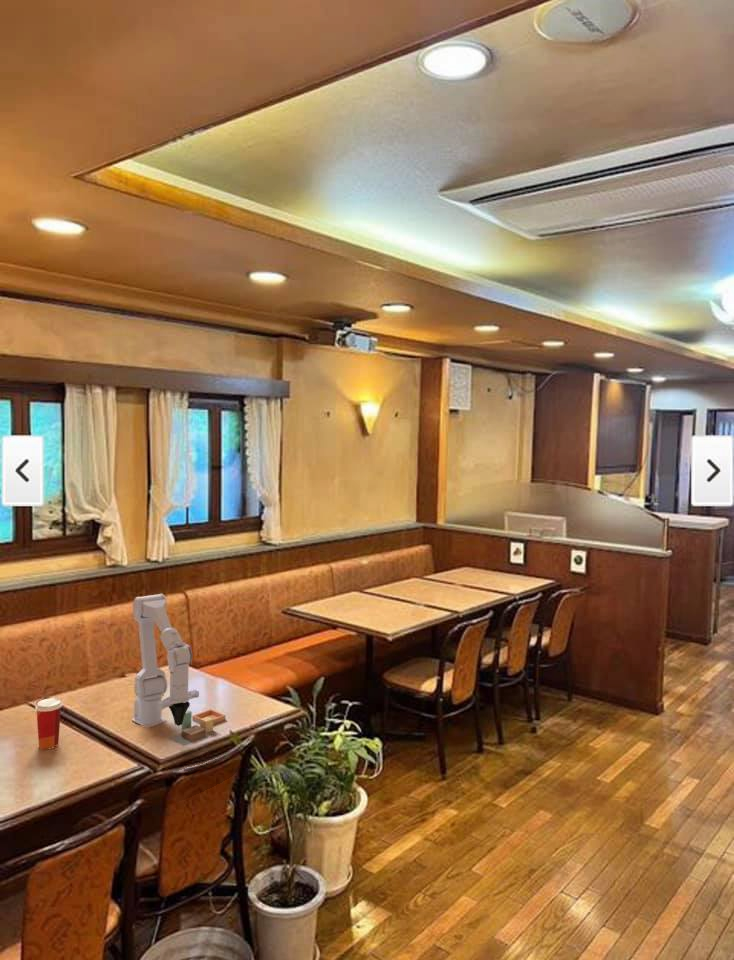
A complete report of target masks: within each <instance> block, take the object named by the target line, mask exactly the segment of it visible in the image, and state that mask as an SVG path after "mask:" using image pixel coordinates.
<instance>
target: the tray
mask: <svg viewBox="0 0 734 960" xmlns="http://www.w3.org/2000/svg"><path fill="white" fill-rule="evenodd" d="M205 717H210V718H212V719H213V725H215V724H218V723H221V722H223V721H225V720H226V714H223V713H222V712H219V711H217V710H215V709H212V708H210V709H207V710H204V711H202V712H199V713H195V714H192V719H191V721H192V722H195V723H197V724H199V725H200V719H202V718H205Z"/></svg>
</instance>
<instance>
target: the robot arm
mask: <svg viewBox="0 0 734 960" xmlns="http://www.w3.org/2000/svg"><path fill="white" fill-rule="evenodd" d="M167 602H168V601H167V598H166V596H165V595H164V594H163V593H159V594H158V593H157V594H153V595H152V594H151V595H145V596H137V597H135V598H134V600H133V602H132V612H133V613H132V614H133V618H134V621H135V622H137V623H138V633H139V644H140V645H139V646H140V655H141V656H140V657H141V666H142V669H141V670H140V671H139V672H138V673H137V674H136V675H135V676H134V686H133V687H134V694H135V695H136V697H135V699H134V701H133V716H134V717H133V718H132V719H131V721H132V722H133V723H136V724H138V725H140V726H143V727H144V728H147V729H148V728H151V727H153V726H157V725H159V724H162V723H164V722H167V721H168V720H167V719H166V718H164V717H162V711H163V710H165V709H166V708H169V710H170V712H171V715H172V718H173V721H174V725H175V726H178V727H180V726H182V723H183V719H184V716H185V713H186V711H188V709H189V708H190V706H191V705H190V704H191V703H190V701H189V700H192V699H195V698H196V699H197V698H200V692H199V690H197V689H196V690H195V689H194V690H190V691H189V672H190V671H189V670H190V669H189V665H190V663H191V662H192V661H193V651H192V648H191V646H190V645H189V644H187V643H186V642H184V640H182V636H181V635H180V634H179V631H178V630H177V629H176V628H175V627H172V625H171V621H170V619H169V616H168V614H167V606H168V605H167V604H168V603H167ZM154 624H156V626H157V627H158V629H159V631H160V632H161V635H160V640H161V642H162V644H163V646H164V648H165V650H166V652H167V654H166V660H167V664H168V670H169V671H170V672H169V696H167V697H166V698H164V699H163V697H164V694H165V693H166V692H167V689H168V680H167V677H166V673H165V671H164V670H163V669H161V668H159V667H158V658H157V657H158V656H157V647H156V638H155V637H156V636H155V626H154Z"/></svg>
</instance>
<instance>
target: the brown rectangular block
mask: <svg viewBox="0 0 734 960" xmlns="http://www.w3.org/2000/svg"><path fill="white" fill-rule="evenodd" d="M180 732H181V733H180V734H181V736H182V737H184V738H186V739H188V740H190V741H192V740H195V739H197V738H200V737H202V736H205V735H206V729H204V728H202V727H200V725H198V724H195V725H193V726H192V725H191V727H189V728H187V729H184V730H182V729H181V731H180Z"/></svg>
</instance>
